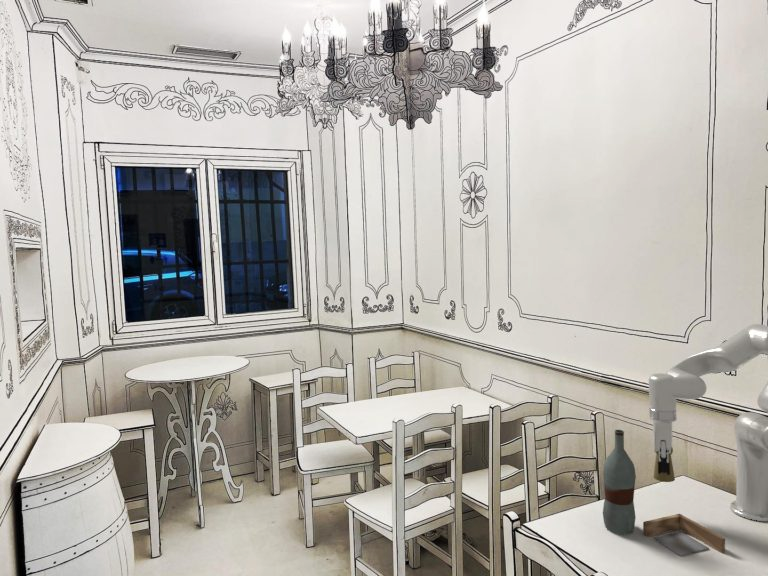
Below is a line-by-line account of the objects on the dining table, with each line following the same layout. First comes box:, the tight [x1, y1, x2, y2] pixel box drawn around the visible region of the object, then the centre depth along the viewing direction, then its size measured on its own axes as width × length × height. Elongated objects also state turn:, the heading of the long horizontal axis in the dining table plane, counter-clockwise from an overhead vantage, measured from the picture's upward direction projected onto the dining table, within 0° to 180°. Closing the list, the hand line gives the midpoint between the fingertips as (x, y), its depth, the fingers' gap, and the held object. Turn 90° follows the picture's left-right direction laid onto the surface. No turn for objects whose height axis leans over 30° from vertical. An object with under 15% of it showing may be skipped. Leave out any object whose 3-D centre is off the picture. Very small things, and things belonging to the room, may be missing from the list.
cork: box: [653, 445, 676, 483], centre depth 176 cm, size 6×6×11 cm
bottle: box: [602, 429, 637, 535], centre depth 169 cm, size 9×9×30 cm
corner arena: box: [642, 513, 726, 557], centre depth 161 cm, size 14×15×4 cm
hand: (664, 470), depth 176 cm, fingers closed on cork, 3 cm apart
